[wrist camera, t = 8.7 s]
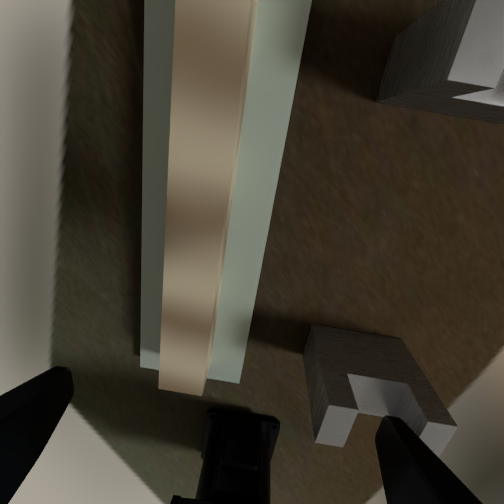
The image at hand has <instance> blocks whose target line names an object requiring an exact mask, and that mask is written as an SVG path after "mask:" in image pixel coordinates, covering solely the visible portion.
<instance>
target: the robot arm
mask: <svg viewBox="0 0 504 504" xmlns="http://www.w3.org/2000/svg"><path fill="white" fill-rule="evenodd" d="M73 394H74V382H73V374H72V370H71V369H70V368H67V367H61V366H56V367H53V368H51V369H49V370H47V371H45V372H44V373H42V374H40V375H38V376H36V377H34V378H32V379H31V380H29V381H27V382H25V383H23V384H21V385H19V386H17V387H16V388H14V389H12V390H10V391H8V392H6V393H4V394H3V395H1V396H0V504H8V503H9V501H10V500H11V498H12V497H13V495H14V494H15V492H16V491H17V489H18V488H19V486H20V485H21V484H22V482H23V481H24V479H25V477H26V476H27V474H28V473H29V472H30V470H31V469H32V467H33V466H34V464H35V462H36V461H37V459H38V458H39V456H40V455H41V453H42V451H43V449H44V447H45V446H46V444H47V443H48V441H49V439H50V437H51V435H52V433H53V432H54V430H55V428H56V426H57V424H58V423H59V421H60V419H61V417H62V415H63V413H64V412H65V410H66V408H67V406H68V404H69V403H70V401H71V399H72V397H73ZM279 430H280V422H279V420H277V419H272V418H266V417H260V416H254V415H249V414H243V413H237V412H231V411H225V410H219V409H209V410H208V412H207V417H206V424H205V431H204V439H203V446H202V453H201V458H202V459H203V464H202V469H201V474H200V479H199V484H198V488H197V493H196V498H195V499H190V498H181V496H177V495H173V498H172V500H171V503H170V504H270V462H271V458H272V455H273V451H274V448H275V444H276V441H277V437H278V434H279ZM375 443H376V449H377V454H378V459H379V464H380V469H381V475H382V480H383V485H384V490H385V495H386V500H387V504H482V502H481V501H480V500H479V499H478V498H477V497H476V496H475V495H474V494H473V493H472V492H471V491H470V490H469V489H468V488H467V487H466V486H465V485H464V484H463V483H462V482H461V480H460V479H459V478H458V477H457V476H456V475H455V474H454V473H453V472H452V471H451V470H450V469H449V468H448V467H447V466H446V465H445V464H444V463H443V462H442V461H441V460H440V459H439V457H438V456H437V455H436V454H435V453H434V452H433V451H432V450H431V449H430V448H429V447H428V446H427V445H426V444H425V443H424V442H423V441H422V440H421V439H420V438H419V437H418V436H417V434H416V433H415V432H414V431H413V430H412V429H411V428H410V427H409V426H408V425H407V424H406V423H405V422H404V421H403V420H402V419H401V418H399V417H395V416H389V415H385V416H384V417H383V419H382V421H381V423H380V426H379V428H378V430H377V433H376V437H375Z"/></svg>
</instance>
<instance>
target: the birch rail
mask: <svg viewBox="0 0 504 504" xmlns="http://www.w3.org/2000/svg"><path fill="white" fill-rule="evenodd" d="M258 1H259V0H176V1H175V24H174V46H173V69H172V92H171V114H170V137H169V160H168V182H167V205H166V228H165V250H164V273H163V296H162V318H161V341H160V364H159V386H158V389H163V390H169V391H175V392H181V393H186V394H192V395H198V396H202V394H203V390H204V386H205V383H206V379H207V375H208V371H209V367H210V364H211V356H212V348H213V341H214V333H215V326H216V318H217V311H218V303H219V296H220V288H221V281H222V273H223V265H224V258H225V250H226V243H227V235H228V228H229V220H230V213H231V205H232V197H233V190H234V182H235V175H236V167H237V160H238V152H239V145H240V137H241V129H242V122H243V114H244V107H245V99H246V92H247V84H248V77H249V69H250V61H251V54H252V46H253V39H254V31H255V24H256V16H257V9H258Z"/></svg>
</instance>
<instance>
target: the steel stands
mask: <svg viewBox="0 0 504 504" xmlns="http://www.w3.org/2000/svg"><path fill="white" fill-rule="evenodd" d="M376 103H382V104H387V105H393V106H399V107H405V108H411V109H416V110H422V111H428V112H434V113H440V114H445V115H451V116H457V117H463V118H469V119H474V120H480V121H486V122H492V123H498V124H500V123H504V0H441V1H439V2H438V3H437V4H436V5H434V6H433V7H432V8H431V9H429V10H428V11H427V12H426V13H424V14H423V15H422V16H421V17H419V18H418V19H417V20H416V21H414V22H413V23H412V24H411V25H409V26H408V27H407V28H405V29H404V30H403V31H402V32H400V33H399V34H398V35H397V36H395V37H394V40H393V43H392V47H391V50H390V54H389V57H388V61H387V64H386V67H385V71H384V74H383V78H382V81H381V85H380V88H379V92H378V95H377V99H376ZM303 361H304V368H305V375H306V382H307V389H308V396H309V403H310V410H311V417H312V424H313V431H314V438H315V443H321V444H326V445H332V446H338V447H343V446H344V444H345V441H346V439H347V437H348V434H349V432H350V430H351V427H352V425H353V423H354V420H355V418H356V416H357V413H364V414H370V415H376V416H382V417H384V416H385V415H389V416H395V417H399V418H401V419H402V420H403V421H404V422H405V423H406V424H407V425H408V426H409V427H410V428H411V429H412V430H413V431H414V432H415V433H416V434H417V436H418V437H419V438H420V439H421V440H422V441H423V442H424V443H425V444H426V445H427V446H428V447H429V448H430V449H431V450H432V451H433V452H434V453H435V454H436V455H437V456H438V457H439V456H440V455H441V453H442V451H443V450H444V448H445V447H446V445H447V443H448V442H449V440H450V439H451V437H452V435H453V434H454V432H455V431H456V429H457V427H458V426H457V424H456V423H455V421H454V420H453V418H452V417H451V415H450V414H449V412H448V410H447V409H446V407H445V406H444V404H443V403H442V401H441V400H440V398H439V396H438V395H437V393H436V392H435V390H434V389H433V387H432V385H431V384H430V382H429V381H428V379H427V378H426V376H425V375H424V373H423V371H422V370H421V368H420V367H419V365H418V364H417V362H416V361H415V359H414V357H413V356H412V354H411V353H410V351H409V350H408V348H407V347H406V345H405V343H404V342H403V340H402V339H396V338H390V337H385V336H379V335H373V334H367V333H361V332H355V331H349V330H343V329H338V328H332V327H326V326H320V325H314V324H311V328H310V331H309V335H308V338H307V341H306V345H305V348H304V352H303Z"/></svg>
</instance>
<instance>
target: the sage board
mask: <svg viewBox="0 0 504 504" xmlns="http://www.w3.org/2000/svg"><path fill="white" fill-rule="evenodd" d="M175 1H176V0H144V84H143V170H142V256H141V342H140V367H144V368H150V369H156V370H159V364H160V341H161V318H162V296H163V273H164V250H165V228H166V205H167V182H168V160H169V137H170V114H171V92H172V69H173V46H174V24H175ZM311 2H312V0H259V1H258V9H257V16H256V24H255V31H254V39H253V46H252V54H251V61H250V69H249V77H248V84H247V92H246V99H245V107H244V114H243V122H242V129H241V137H240V145H239V152H238V160H237V167H236V175H235V182H234V190H233V197H232V205H231V213H230V220H229V228H228V235H227V243H226V250H225V258H224V265H223V273H222V281H221V288H220V296H219V303H218V311H217V318H216V326H215V333H214V341H213V348H212V356H211V364H210V367H209V371H208V375H207V378H209V379H215V380H221V381H227V382H233V383H239V382H240V377H241V372H242V366H243V361H244V356H245V350H246V345H247V340H248V335H249V329H250V324H251V319H252V313H253V308H254V303H255V298H256V292H257V287H258V282H259V277H260V271H261V266H262V261H263V255H264V250H265V245H266V240H267V234H268V229H269V224H270V219H271V213H272V208H273V203H274V197H275V192H276V187H277V182H278V176H279V171H280V166H281V160H282V155H283V150H284V145H285V139H286V134H287V129H288V124H289V118H290V113H291V108H292V102H293V97H294V92H295V87H296V81H297V76H298V71H299V65H300V60H301V55H302V50H303V44H304V39H305V34H306V29H307V23H308V18H309V13H310V7H311Z"/></svg>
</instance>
